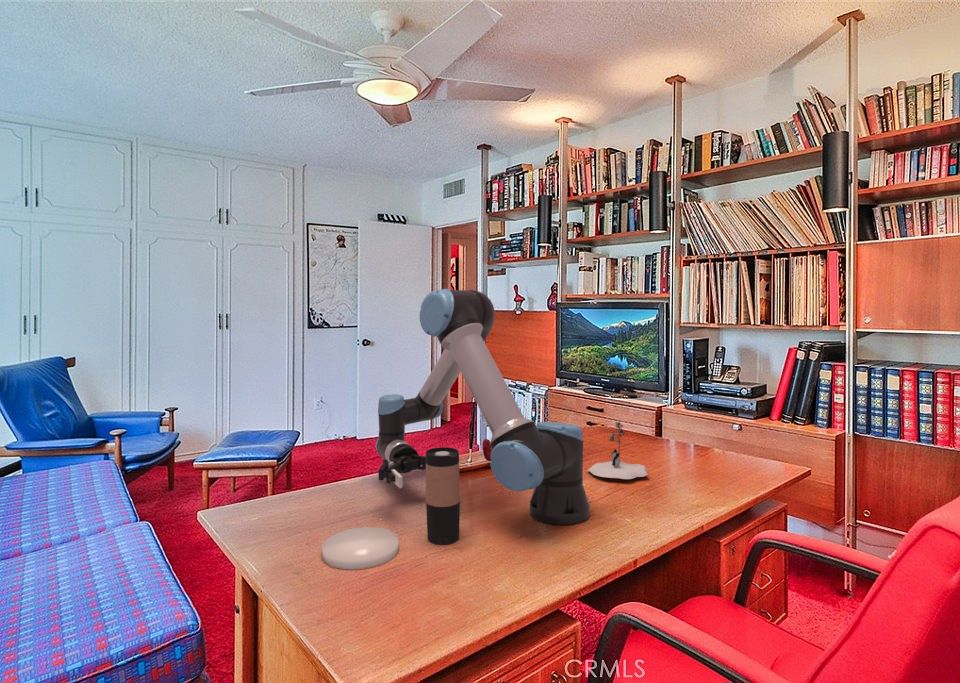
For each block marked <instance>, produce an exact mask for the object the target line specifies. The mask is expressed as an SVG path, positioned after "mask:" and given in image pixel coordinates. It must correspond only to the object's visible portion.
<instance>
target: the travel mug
mask: <svg viewBox="0 0 960 683" xmlns="http://www.w3.org/2000/svg"><path fill="white" fill-rule="evenodd" d="M425 457H426V469H425V507H426V508H425V509H426V529H427V531H426V532H427V533H426V534H427V540H428V542H429V543H431V544H434V545H438V546H446V545H450V544H454V543H456V542H457V541H458V540H459V538H460V514H461V513H460V511H461V510H460V508H461V507H460V506H461V497H460V496H461V494H460V492H461V491H460V490H461V489H460V451H459V450H458V449H457V448H455V447H446V446H445V447H443V446H440V447H434V448H429V449H427V450H426V451H425Z"/></svg>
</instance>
